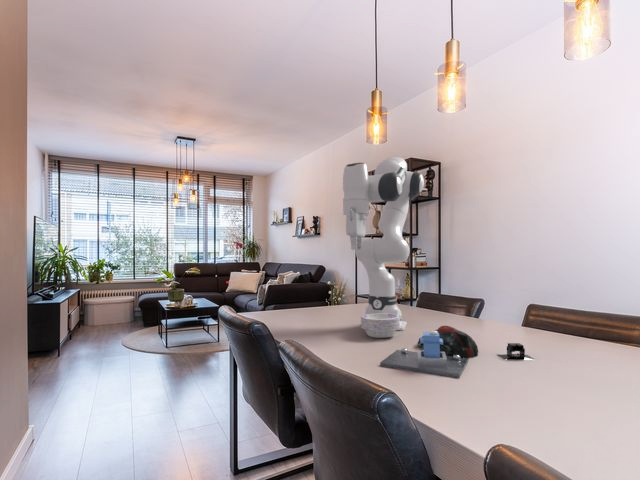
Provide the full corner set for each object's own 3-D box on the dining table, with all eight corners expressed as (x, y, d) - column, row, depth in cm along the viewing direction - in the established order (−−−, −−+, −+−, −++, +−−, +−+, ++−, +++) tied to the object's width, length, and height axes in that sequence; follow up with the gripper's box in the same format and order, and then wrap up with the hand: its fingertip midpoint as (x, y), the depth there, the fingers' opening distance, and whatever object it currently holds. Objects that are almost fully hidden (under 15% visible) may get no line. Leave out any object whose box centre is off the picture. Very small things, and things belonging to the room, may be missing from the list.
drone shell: (480, 360, 115) (479, 334, 115) (414, 355, 122) (414, 330, 122) (476, 344, 135) (475, 322, 135) (420, 340, 141) (419, 319, 142)
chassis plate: (397, 352, 124) (397, 343, 124) (468, 362, 113) (468, 351, 113) (380, 365, 110) (380, 355, 110) (459, 377, 99) (459, 366, 99)
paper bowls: (355, 333, 154) (355, 313, 154) (388, 330, 158) (388, 311, 158) (371, 341, 139) (370, 320, 139) (407, 338, 144) (407, 317, 144)
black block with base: (500, 362, 114) (499, 347, 114) (490, 355, 122) (490, 341, 122) (542, 362, 114) (541, 347, 114) (530, 355, 121) (530, 341, 121)
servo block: (420, 358, 113) (419, 329, 113) (442, 360, 112) (442, 330, 112) (420, 362, 109) (419, 332, 109) (443, 364, 107) (443, 333, 108)
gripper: (360, 205, 118) (361, 249, 117) (368, 212, 138) (369, 249, 137) (341, 206, 119) (341, 249, 119) (351, 212, 139) (352, 249, 139)
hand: (356, 249), depth 128 cm, fingers open, 8 cm apart
